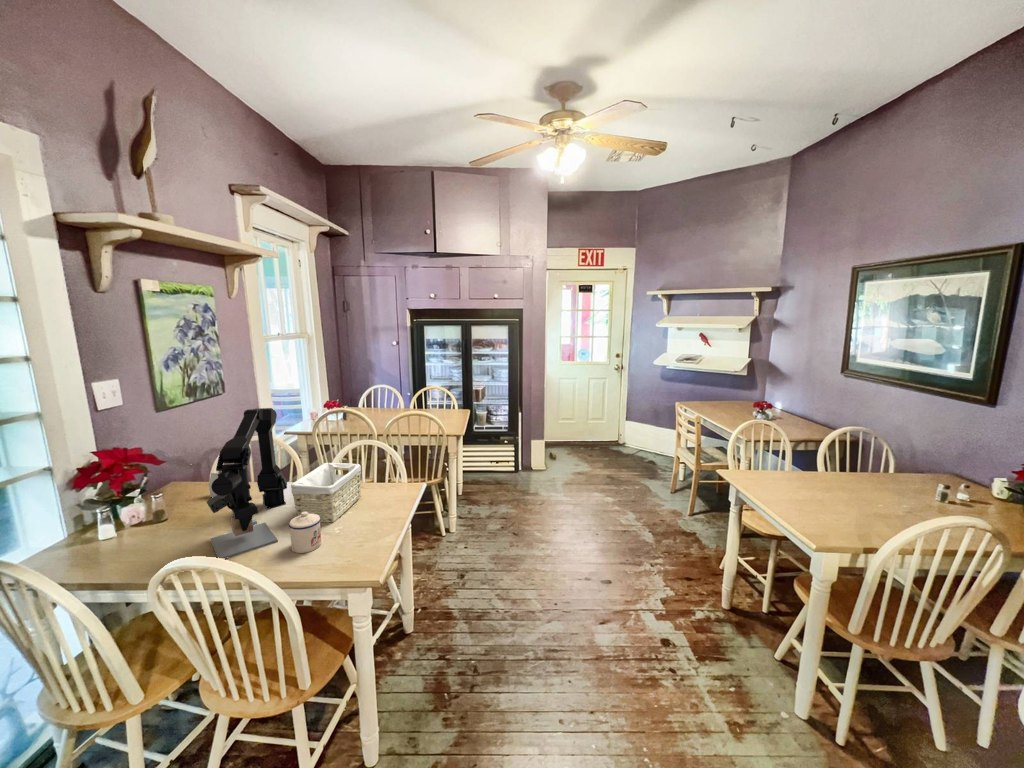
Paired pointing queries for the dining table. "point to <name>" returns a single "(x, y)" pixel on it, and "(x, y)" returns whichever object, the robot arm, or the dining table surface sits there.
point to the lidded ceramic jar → (305, 532)
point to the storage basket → (327, 491)
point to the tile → (243, 541)
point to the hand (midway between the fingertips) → (242, 527)
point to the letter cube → (237, 527)
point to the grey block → (212, 478)
